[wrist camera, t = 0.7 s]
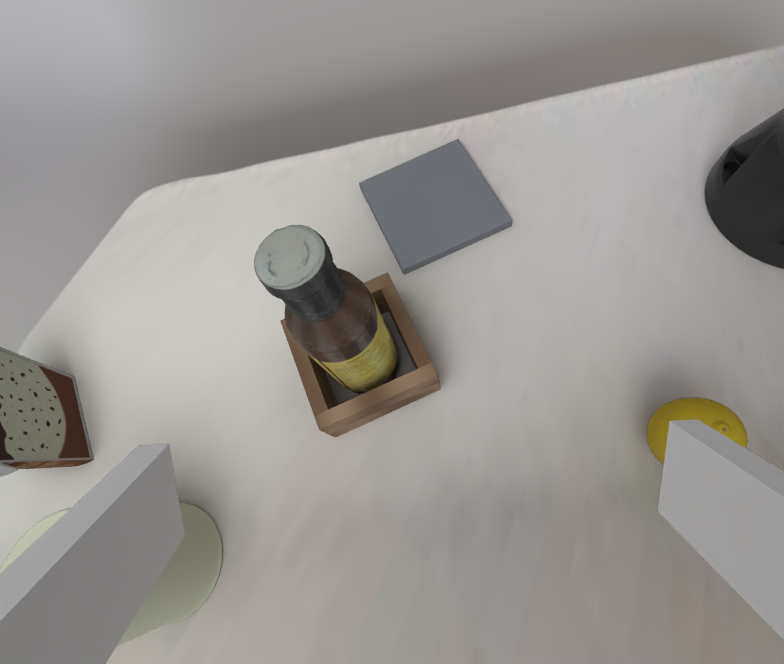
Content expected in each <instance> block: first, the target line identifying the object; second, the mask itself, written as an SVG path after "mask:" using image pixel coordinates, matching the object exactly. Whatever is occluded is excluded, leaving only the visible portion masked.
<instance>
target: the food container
mask: <svg viewBox="0 0 784 664" xmlns="http://www.w3.org/2000/svg"><path fill="white" fill-rule="evenodd" d="M92 460H94V458H93V454H92V449H91V445H90V441H89V436H88V432H87V428H86V423H85V419H84V415H83V410H82V406H81V402H80V397H79V393H78V389H77V384H76V380H75V377H73V376H71V375H68V374H66V373H63V372H61V371H58V370H56V369H53V368H51V367H49V366H46V365H44V364H41V363H39V362H36V361H34V360H31V359H29V358H26V357H24V356H21V355H19V354H16V353H14V352H11V351H9V350H7V349H4V348H2V347H0V477H1V476H4V475H8V474H10V473H12V472H14V471H17V470H18V469H31V468H52V467H72V466H79V465H82V464H85V463H88V462H90V461H92Z"/></svg>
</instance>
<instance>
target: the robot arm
mask: <svg viewBox="0 0 784 664" xmlns="http://www.w3.org/2000/svg"><path fill="white" fill-rule="evenodd" d="M705 197H706V204H707V207H708V210H709V213H710V215H711V217H712V219H713V221H714V223H715V224H716V226H717V227H718V228H719V230H720V231H721V232H722V233H723V234H724V235H725V236H726V238H727V239H729V240H730V241H731V242H732V243H733V244H734V245H736V246H737V247H738V248H740V249H741V250H742V251H744V252H746V253H747V254H749V255H751V256H753V257H754V258H756V259H759V260H761V261H763V262H765V263H768V264H771V265H774V266H777V267H780V268H784V109H782V110H781V111H779V112H778V113H776V114H775V115H773V116H772V117H770V118H768V119H767V120H765V121H764V122H762V123H761V124H759V125H758V126H756V127H755V128H753V129H752V130H750V131H749V132H747V133H746V134H744V135H743V136H741V137H740V138H739V139H737V140H736V141H735V142H734V143H733V144H732V145H731V146H730V147H729V148H728V149H727V150H726V151H725V152H724V154H723V155H722V156H721V157H720V159H719V160H718V161H717V162H716V164H715V165H714V166H713V168H712V170H711V171H710V173H709V176H708V178H707V182H706V188H705ZM658 512H659V513H660V514H661V515H662V516H663V517H664V518H665V519H666V520H667V521H668V522H669V523H670V524H671V525H672V526H673V527H674V528H675V529H676V530H677V532H678V533H679V534H680V535H681V536H682V537H683V538H684V539H685V540H686V541H687V542H688V543H689V544H690V545H691V546H692V547H693V548H694V549H695V550H696V551H697V552H698V553H699V554H700V555H701V556H702V557H703V558H704V559H705V560H706V561H707V562H708V563H709V564H710V565H711V566H712V567H713V568H714V569H715V570H716V571H717V572H718V573H719V574H720V575H721V576H722V577H723V578H724V579H725V580H726V581H727V582H728V584H729V585H730V586H731V587H732V588H733V589H734V590H735V591H736V592H737V593H738V594H739V595H740V596H741V597H742V598H743V599H744V600H745V601H746V602H747V603H748V604H749V605H750V606H751V607H752V608H753V609H754V610H755V611H756V612H757V613H758V614H759V615H760V616H761V617H762V618H763V619H764V620H765V621H766V622H767V623H768V624H769V625H770V626H771V627H772V628H773V629H774V630H775V631H776V632H777V633H778V635H779V636H780V637H781V638H782V639H783V640H784V471H782V470H780V469H779V468H777V467H776V466H774V465H772V464H771V463H769V462H767V461H766V460H764V459H762V458H761V457H759V456H757V455H756V454H754V453H752V452H751V451H749V450H747V449H746V448H744V447H742V446H741V445H739V444H738V443H736V442H734V441H733V440H731V439H729V438H728V437H726V436H724V435H723V434H721V433H719V432H718V431H716V430H714V429H713V428H711V427H709V426H708V425H706V424H705V423H703V422H701V421H700V420H677V421H669V429H668V437H667V444H666V452H665V460H664V467H663V475H662V483H661V491H660V498H659V506H658ZM184 536H185V533H184V528H183V522H182V516H181V510H180V505H179V499H178V493H177V487H176V482H175V476H174V470H173V464H172V459H171V453H170V447H169V444H162V445H140V446H138V447H137V448H136V449H135V450H134V451H133V452H131V453H130V454H129V455H128V456H127V457H126V458H125V459H124V460H123V461H122V462H121V463H119V464H118V465H117V466H116V467H115V468H114V469H113V470H112V471H111V472H110V473H109V474H108V475H106V476H105V477H104V478H103V479H102V480H101V481H100V482H99V483H98V484H97V485H96V486H95V487H93V488H92V489H91V490H90V491H89V492H88V493H87V494H86V495H85V496H84V497H83V498H82V499H80V500H79V501H78V502H77V503H76V504H75V505H74V506H73V507H72V508H71V509H70V510H69V511H67V512H66V513H65V514H64V515H63V516H62V517H61V518H60V519H59V520H58V521H57V522H56V523H54V524H53V525H52V526H51V527H50V528H49V529H48V530H47V531H46V532H45V533H44V534H43V535H41V536H40V537H39V538H38V539H37V540H36V541H35V542H34V543H33V544H32V545H31V546H30V547H28V548H27V549H26V550H25V551H24V552H23V553H22V554H21V555H20V556H19V557H18V558H17V559H15V560H14V561H13V562H12V563H11V564H10V565H9V566H8V567H7V568H6V569H5V570H4V571H2V572H1V573H0V664H106V662H107V661H108V659H109V657H110V656H111V654H112V652H113V651H114V649H115V648H116V646H117V644H118V643H119V641H120V640H121V638H122V636H123V635H124V633H125V632H126V630H127V628H128V627H129V625H130V623H131V622H132V620H133V619H134V617H135V615H136V614H137V612H138V611H139V609H140V607H141V606H142V604H143V603H144V601H145V599H146V598H147V596H148V594H149V593H150V591H151V590H152V588H153V586H154V585H155V583H156V582H157V580H158V578H159V577H160V575H161V574H162V572H163V570H164V569H165V567H166V565H167V564H168V562H169V561H170V559H171V557H172V556H173V554H174V553H175V551H176V549H177V548H178V546H179V545H180V543H181V541H182V540H183V538H184Z"/></svg>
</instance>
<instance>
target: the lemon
mask: <svg viewBox="0 0 784 664" xmlns="http://www.w3.org/2000/svg"><path fill="white" fill-rule="evenodd" d="M677 420H700V421H701V422H703V423H705V424H706V425H708V426H709V427H711V428H713V429H714V430H716V431H718V432H719V433H721V434H723V435H724V436H726V437H728V438H729V439H731V440H733V441H734V442H736V443H738V444H739V445H741V446H742V447H744V448H746V449H747V441H748V440H747V433H746V430H745V428H744V425H743V423H742V422H741V420H740V419H739V418H738V416H737V415H736V414H735V413H734V412H732V411H731V410H730V409H729V408H727V407H726V406H724V405H722V404H720V403H718V402H715V401H712V400H709V399H702V398H683V399H678V400H675V401H672V402H669V403H667V404H665V405H664V406H662V407H661V408H659V409H658V410H657V411H656V412H655V413H654V414H653V416H652V417H651V418H650V421H649V423H648V426H647V440H648V445H649V447H650V449H651V451H652V453H653V454H654V455H655V457H656V458H657V459H658V460H659V461H660V462H661V463H662V464H664V460H665V452H666V444H667V437H668V429H669V421H677Z"/></svg>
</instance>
